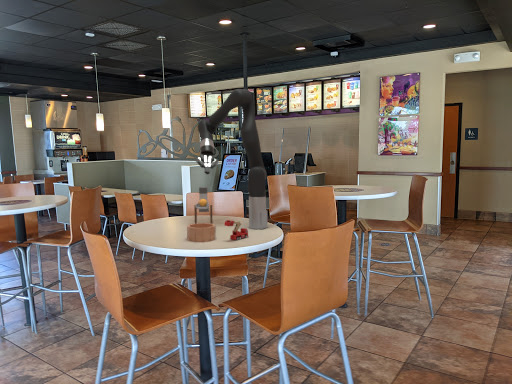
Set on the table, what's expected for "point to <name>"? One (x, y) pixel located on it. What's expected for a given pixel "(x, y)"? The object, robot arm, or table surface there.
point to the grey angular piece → (202, 196)
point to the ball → (202, 202)
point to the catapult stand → (210, 214)
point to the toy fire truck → (235, 232)
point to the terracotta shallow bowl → (201, 232)
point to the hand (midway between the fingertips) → (207, 173)
